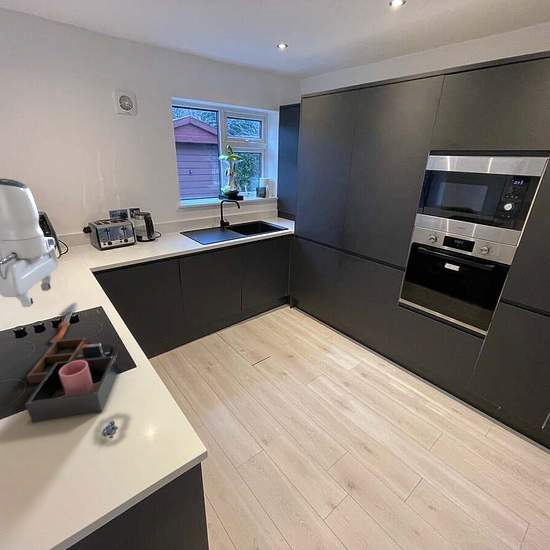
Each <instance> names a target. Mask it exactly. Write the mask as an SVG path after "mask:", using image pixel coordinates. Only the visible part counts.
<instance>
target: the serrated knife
mask: <svg viewBox="0 0 550 550" xmlns="http://www.w3.org/2000/svg"><path fill="white" fill-rule="evenodd" d="M74 309H75V303H73V304H71V305H70V306H69V307H68V308H66V309H65V310H64V312H62V314H61V316H65V317H64V319H63V321H62V322H60V323H59V324H58V325H57V328H58V330H57V332H56V334H55V335H54V337H52V338H51V339H50V341H49V343H51V344H53V343H54V342H55V341H56V340H62V339H63V337H64V335H65V334H66V331H67V329H68V328H69V326H70V319H71V317H72V315H73V312H74Z"/></svg>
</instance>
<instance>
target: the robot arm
mask: <svg viewBox="0 0 550 550" xmlns="http://www.w3.org/2000/svg"><path fill="white" fill-rule="evenodd" d="M39 221H40V215H39V211H38V208H37V205H36V202H35V199H34V197H33V194H32V191H31V190H30V188H29V187H28V186H27V185H26V184H25V183H23V182H21V181H18V180H15V179H8V178H0V255H1V258H0V295H1V296H2V297H3V298H16V299H17V300H18V301H20V304H21V307H22V308H30V307H31V306H32V305H34V301H33V298H32V297H29V290H31V289H32V288H33V287H35V285H37V284H38V283H40V282H41V284H40V288H41V291H43V292H48V291H50V290H51V289H52V284H51V282H52V273H53V272H54V271H56V270H57V269H58V266H59V260H58V255H57V250H56V247H55V245H56V241H55V238H54V237H51V236H50V237H49V236H48V237H47V236H45V234H44V232H43V230H42V228H41V226H40V222H39Z"/></svg>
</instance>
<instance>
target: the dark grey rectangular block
mask: <svg viewBox="0 0 550 550" xmlns="http://www.w3.org/2000/svg"><path fill="white" fill-rule="evenodd" d="M87 344H88V343H87ZM87 344H85V345H83V346H82V351H83V354H84V357H87V356H97V355H102V353H103V351H102V346H101V345H102V343H92V344H88V345H87Z"/></svg>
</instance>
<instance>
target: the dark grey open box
mask: <svg viewBox="0 0 550 550" xmlns="http://www.w3.org/2000/svg"><path fill="white" fill-rule="evenodd" d="M81 360H83V361H86V362H88V366H89V370H90V373H91V377H98V376H102V377H101V379H100V381H99V383H98V385H97V388H96V390H95V391H94V393H89V394H81V395H74V396H66V395H65V396H60V397H59V396H58V397H53V396H54V395H55V393H56V391H57V390H58V388H59V387H60V385H62V382H61V379H60V376H59V370H60V369H61V368H62V367H63V366H64V365H66V364H68V363H70V362H73V361H78V360H72V361H63V362H56V363H54V364H53V365H52V367H51V368H50V369H49V371H47V372H48V374H47V375H46V376H45V378H44V379H43V381H42V382H39V384H38V386H37V387H36V388H35V390H34V392H32V394H31V395H30V397H29V398H28V400H27V401H26V402H25V407H26V410H27V413H28V415H29V418H30V420H31V423H38V422H44V421H52V420H59V419H66V418H72V417H73V418H74V417H78V416H85V415H93V414H100V413H103V411H104V409H105V406H106V404H107V401H108V399H109V396H110V394H111V392H112V389H113V387H114V384H115V381H116V379H117V377H118V374H119V368H118V363H117V358H116V355H110V356H109V357H99V358H90V359H81Z"/></svg>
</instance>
